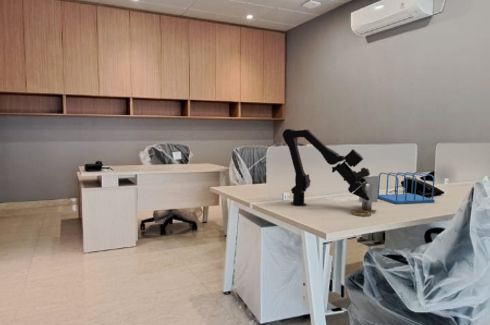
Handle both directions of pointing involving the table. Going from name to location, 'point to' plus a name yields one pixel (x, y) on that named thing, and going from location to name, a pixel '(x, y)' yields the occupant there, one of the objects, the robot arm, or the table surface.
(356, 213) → the hub seat
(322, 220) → the table surface
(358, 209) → the stand pad
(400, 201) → the file sorter
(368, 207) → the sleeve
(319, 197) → the table surface
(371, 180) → the skincare box
